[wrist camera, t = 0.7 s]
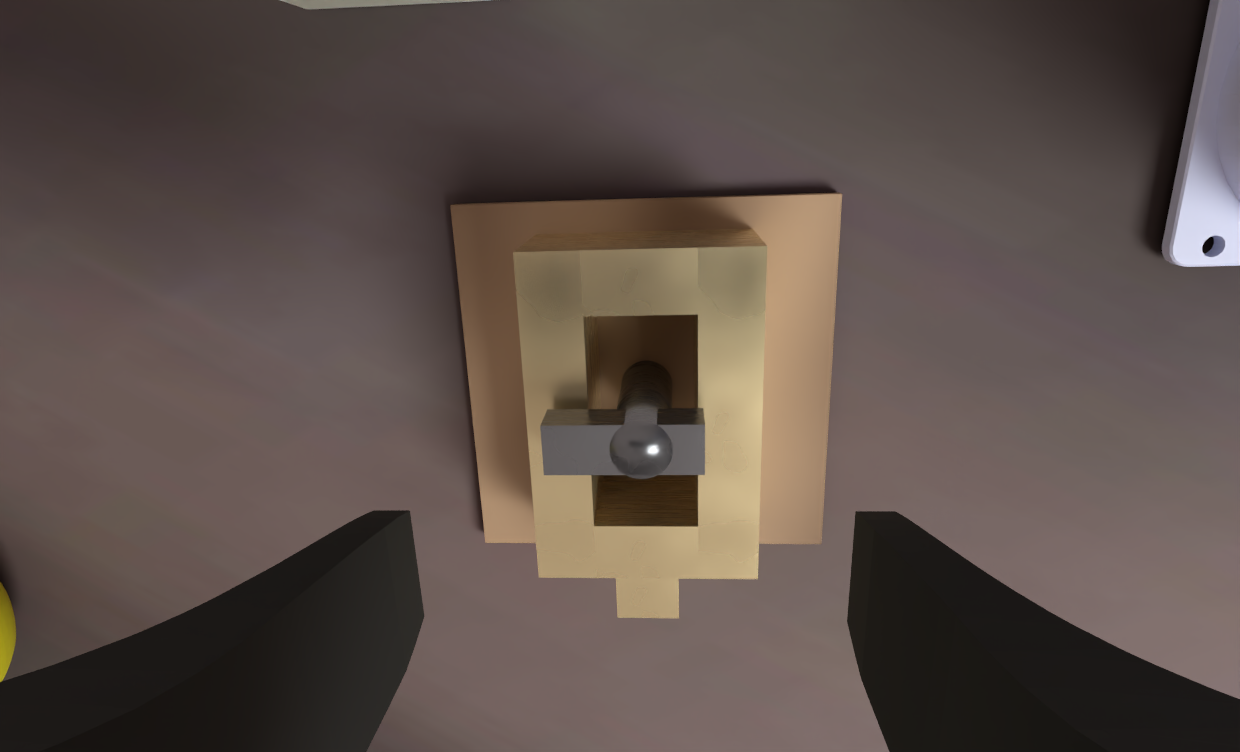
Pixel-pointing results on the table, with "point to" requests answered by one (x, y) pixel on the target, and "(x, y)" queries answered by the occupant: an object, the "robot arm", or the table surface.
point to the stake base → (658, 341)
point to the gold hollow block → (723, 386)
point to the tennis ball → (6, 632)
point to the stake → (627, 432)
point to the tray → (362, 3)
